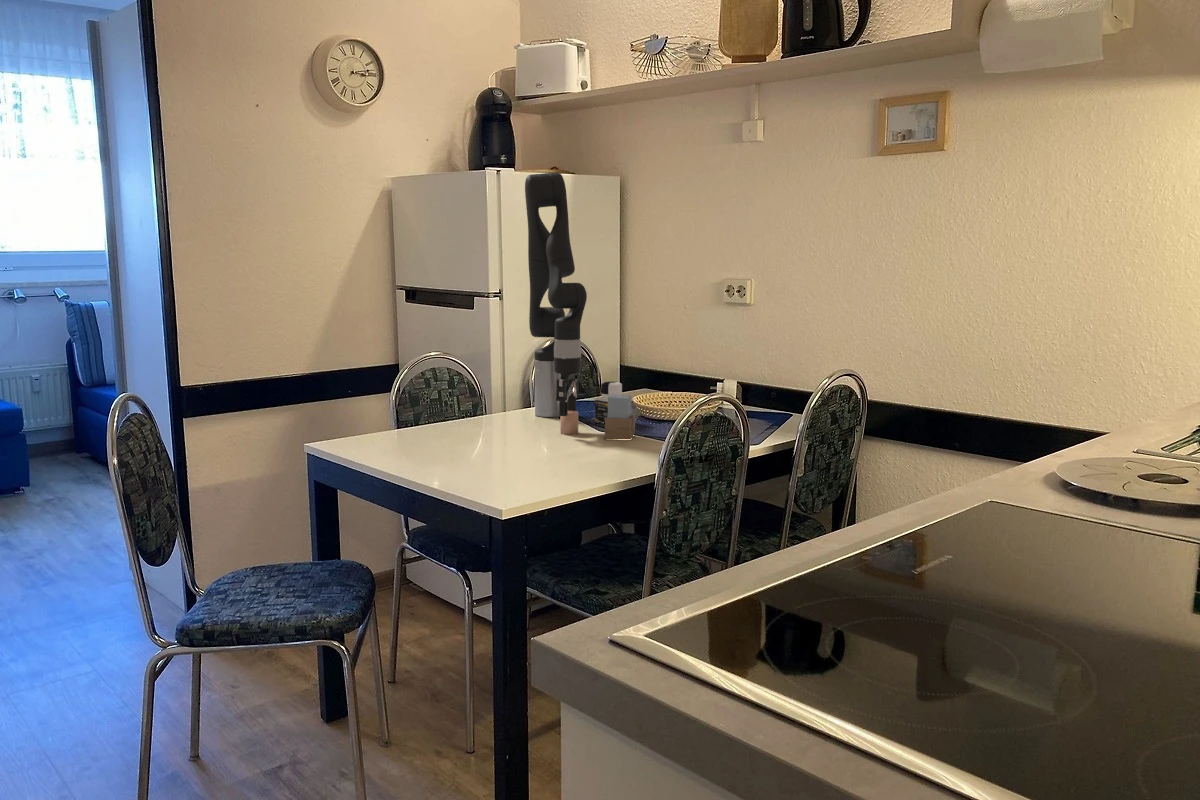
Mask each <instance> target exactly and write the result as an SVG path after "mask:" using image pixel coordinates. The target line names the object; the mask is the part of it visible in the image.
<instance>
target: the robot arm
mask: <svg viewBox="0 0 1200 800" xmlns="http://www.w3.org/2000/svg"><path fill="white" fill-rule="evenodd" d="M524 196H525V197H524V198H525V205H526V206H525V207H526V216H527V217H526V218H527V235H528V236H527V239H528V240H527V241H528V242H527V243H528V244H527V247H528V248H527V250H528V251H527V253H528V255H527V256H528V259H527V261H528V274H529V275H528V276H529V313H528V314H529V315H528V316H529V317H528V319H529V320H528V321H529V322H528V323H529V324H528V325H529V326H528V327H529V331H530V335H531V336H532V337H534V338H554V340H553V341H552V342H551V343H550V344H548V345H546V346H543V347H540V348H537V349H535V351H534V415H535V416H537V417H543V418H557V417H560V416H567V415H568V411H577V398H578V395H579V394H580V391H579V374H580V373H581V372H582V344H581V322H582V318H583V315H584V311H585V307H586V303H587V298H588V297H587V294H588V293H587V290H586V288H585V286H584V284H582V283H581V282H563V278H567V277H570V276H572V275H573V274H574V273H575V270H576V268H575V261H574V256H573V252H572V251H573V250H572V246H571V239H570V238H571V237H570V228H569V227H570V222H569V210H568V208H569V207H568V196H567V187H566V183H565V179H564V176H563V175H562V173H560V172H545V173H535V174H529V175H527V176H526V177H525V180H524ZM548 207H549V208H550V207H555V208H556V209H555V211H556V215H555V220H554V223H553V226H552V227H551V231H549V229H548V228H547V227H546V225H545V224H544V222H543V221H542V219H541V216H540V212H539V211H540V208H548ZM546 293H547V299H548V302H549V304H550V305H551V306H541V304H542V300H543V298H544V297H545V294H546ZM564 309H567V310H568V309H569V311H568V313H567V314H566V313H565V310H564Z"/></svg>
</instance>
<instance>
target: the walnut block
mask: <svg viewBox="0 0 1200 800" xmlns="http://www.w3.org/2000/svg"><path fill="white" fill-rule="evenodd" d="M634 434H635V435H636V414H631V416H630V417H629V418H628V419H622V418H608V416H607V417H606V418H605V424H604V440H605V439H631V438H632V437H633V435H634ZM633 438H634V437H633Z"/></svg>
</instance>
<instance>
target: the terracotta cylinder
mask: <svg viewBox="0 0 1200 800" xmlns="http://www.w3.org/2000/svg"><path fill="white" fill-rule="evenodd" d="M559 417H560V425H559V426H560V435H563V434H564V436H575V435H574V434H576V435H578V434H579V411H577V410H575V411H568V415H567V416H559Z"/></svg>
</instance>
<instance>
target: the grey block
mask: <svg viewBox="0 0 1200 800" xmlns="http://www.w3.org/2000/svg"><path fill="white" fill-rule="evenodd" d="M632 398H633V397H632V395H631V394H629V395H628V394H627V395H626V394H622V395H611V396H610V397H608V418H622V419H628V418H629V417H630V416H631V415H632Z"/></svg>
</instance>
